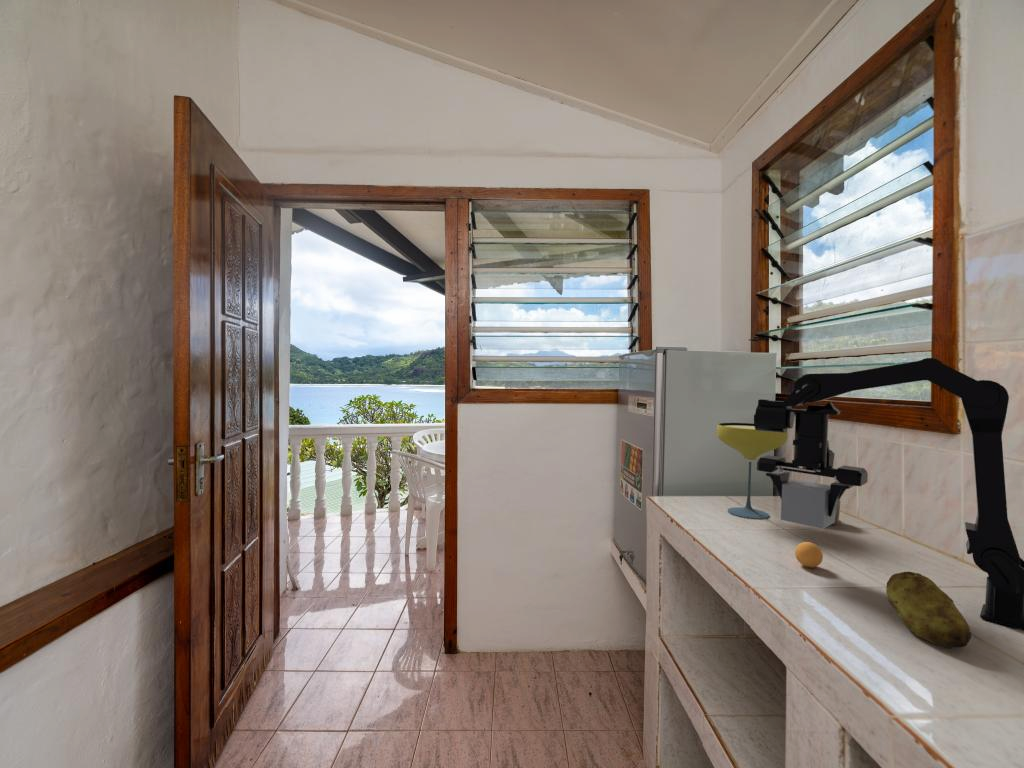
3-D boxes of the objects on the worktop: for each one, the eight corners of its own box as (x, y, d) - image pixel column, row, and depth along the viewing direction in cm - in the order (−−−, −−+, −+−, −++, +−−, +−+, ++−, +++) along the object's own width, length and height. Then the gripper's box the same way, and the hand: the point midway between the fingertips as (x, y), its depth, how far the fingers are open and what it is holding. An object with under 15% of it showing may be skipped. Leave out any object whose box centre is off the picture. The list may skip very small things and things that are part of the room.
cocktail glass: (794, 525, 133) (798, 431, 132) (722, 520, 136) (726, 428, 135) (770, 507, 151) (774, 424, 150) (707, 503, 153) (710, 421, 153)
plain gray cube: (823, 529, 97) (825, 491, 97) (780, 519, 103) (782, 484, 102) (834, 522, 102) (836, 486, 102) (793, 513, 108) (795, 479, 108)
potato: (905, 646, 74) (907, 592, 74) (879, 608, 86) (881, 562, 86) (976, 659, 71) (979, 604, 71) (939, 618, 83) (942, 571, 83)
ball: (823, 540, 103) (827, 556, 105) (797, 534, 106) (801, 549, 108) (816, 560, 100) (820, 575, 102) (789, 552, 104) (793, 567, 106)
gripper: (875, 437, 100) (872, 515, 101) (776, 428, 114) (773, 496, 115) (861, 442, 93) (858, 525, 93) (757, 431, 106) (754, 504, 107)
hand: (807, 511), depth 102 cm, fingers closed on plain gray cube, 8 cm apart
